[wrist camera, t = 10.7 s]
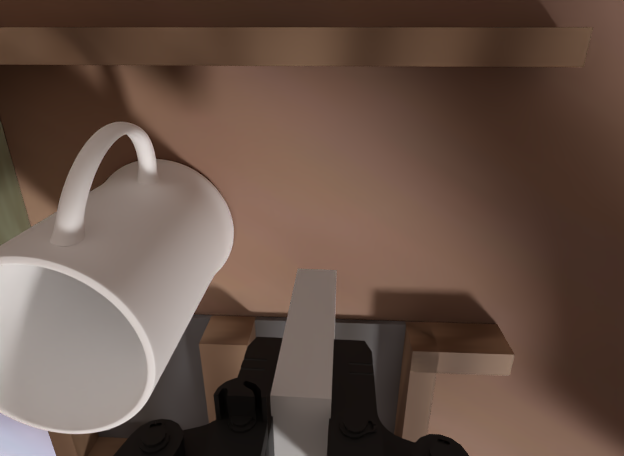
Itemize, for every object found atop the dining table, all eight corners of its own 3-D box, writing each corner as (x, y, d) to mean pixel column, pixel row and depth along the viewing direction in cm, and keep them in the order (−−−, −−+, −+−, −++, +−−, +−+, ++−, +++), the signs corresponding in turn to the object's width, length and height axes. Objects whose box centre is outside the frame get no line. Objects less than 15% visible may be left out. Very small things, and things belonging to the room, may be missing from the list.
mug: (111, 82, 23) (-92, 116, 12) (262, 130, 24) (198, 204, 13) (91, 263, 28) (-68, 407, 17) (218, 300, 28) (144, 461, 17)
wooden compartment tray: (559, 29, 21) (638, 24, 16) (467, 463, 33) (493, 546, 28) (-55, 29, 23) (-182, 24, 17) (74, 445, 35) (25, 520, 29)
